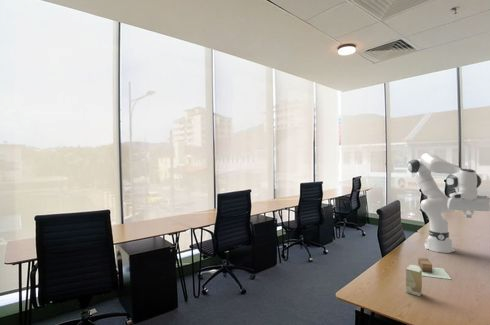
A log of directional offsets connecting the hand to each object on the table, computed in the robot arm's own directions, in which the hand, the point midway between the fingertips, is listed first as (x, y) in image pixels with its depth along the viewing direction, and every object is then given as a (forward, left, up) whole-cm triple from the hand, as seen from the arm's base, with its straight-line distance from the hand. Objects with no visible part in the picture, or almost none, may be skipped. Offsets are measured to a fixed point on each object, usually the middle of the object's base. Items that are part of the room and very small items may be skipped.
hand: (468, 217), depth 160 cm
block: (+5, -25, -29) cm, 39 cm away
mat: (+14, -24, -32) cm, 42 cm away
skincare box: (+47, -37, -32) cm, 67 cm away
